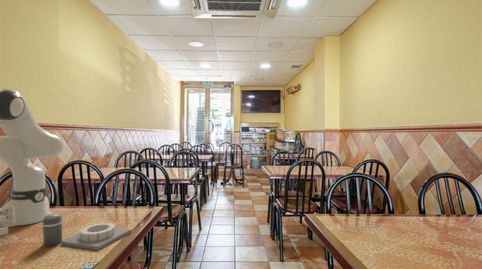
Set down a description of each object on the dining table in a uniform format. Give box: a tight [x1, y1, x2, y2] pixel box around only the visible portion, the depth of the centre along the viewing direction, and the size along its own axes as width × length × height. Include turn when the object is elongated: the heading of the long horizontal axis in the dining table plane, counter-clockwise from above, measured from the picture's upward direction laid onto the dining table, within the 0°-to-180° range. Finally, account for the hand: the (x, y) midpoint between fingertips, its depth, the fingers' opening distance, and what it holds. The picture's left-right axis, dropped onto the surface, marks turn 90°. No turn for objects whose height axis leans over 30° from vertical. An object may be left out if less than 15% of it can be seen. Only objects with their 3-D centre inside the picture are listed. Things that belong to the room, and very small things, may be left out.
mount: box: [60, 222, 132, 251], centre depth 95 cm, size 16×16×4 cm
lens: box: [42, 212, 63, 248], centre depth 91 cm, size 6×6×10 cm
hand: (5, 226), depth 82 cm, fingers open, 8 cm apart
